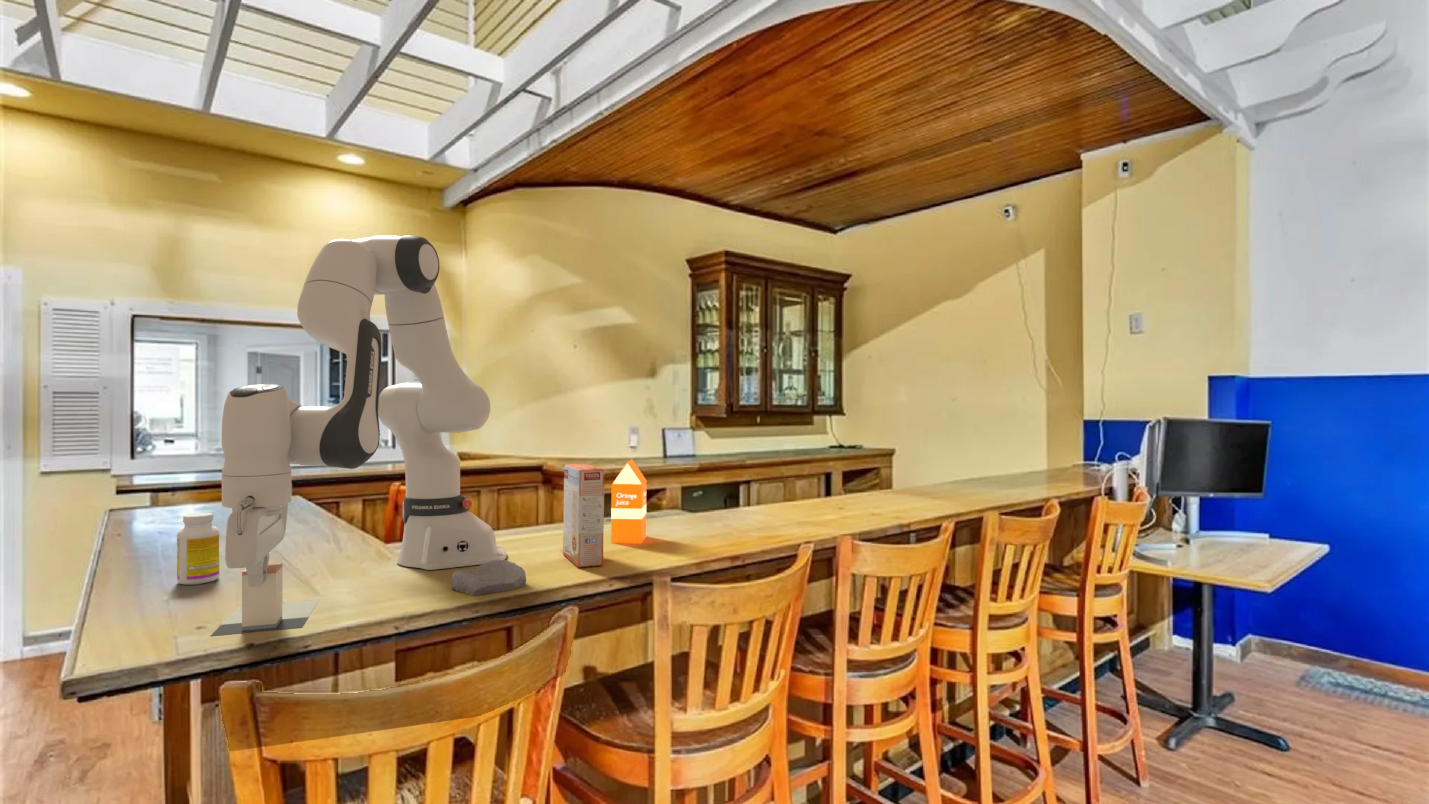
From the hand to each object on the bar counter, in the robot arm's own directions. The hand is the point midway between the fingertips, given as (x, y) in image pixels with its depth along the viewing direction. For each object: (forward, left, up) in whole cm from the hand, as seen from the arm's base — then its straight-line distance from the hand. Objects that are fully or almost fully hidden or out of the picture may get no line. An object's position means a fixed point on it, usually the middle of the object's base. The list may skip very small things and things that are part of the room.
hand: (257, 584), depth 108 cm
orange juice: (-70, -52, -8) cm, 88 cm away
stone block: (-35, -17, -8) cm, 40 cm away
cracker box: (-55, -33, -8) cm, 65 cm away
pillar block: (0, -4, -7) cm, 8 cm away
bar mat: (0, -9, -8) cm, 12 cm away
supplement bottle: (+18, -39, -8) cm, 44 cm away
